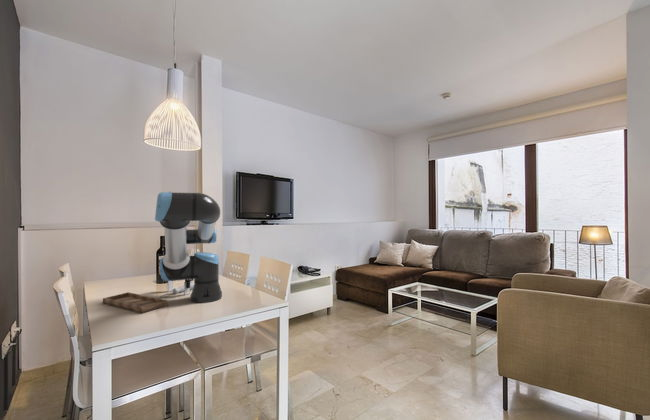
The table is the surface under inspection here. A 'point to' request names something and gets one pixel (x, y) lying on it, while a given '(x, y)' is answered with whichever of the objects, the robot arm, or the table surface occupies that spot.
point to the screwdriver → (179, 289)
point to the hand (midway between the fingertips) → (178, 292)
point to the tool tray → (135, 302)
